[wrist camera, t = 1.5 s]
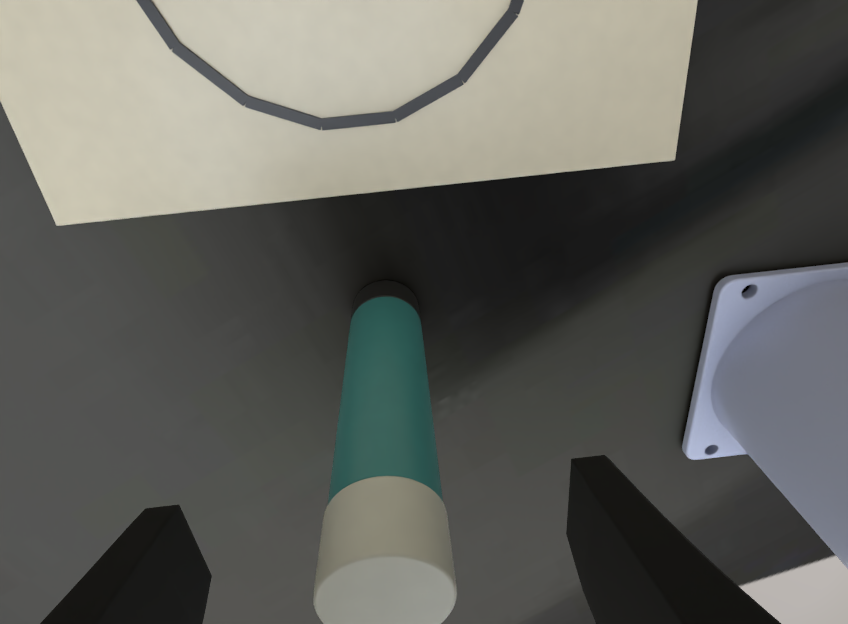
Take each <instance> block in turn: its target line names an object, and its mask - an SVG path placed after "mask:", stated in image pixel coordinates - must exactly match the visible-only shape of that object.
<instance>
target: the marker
mask: <svg viewBox="0 0 848 624" xmlns="http://www.w3.org/2000/svg"><path fill="white" fill-rule="evenodd" d="M456 597H457V588H456V580H455V573H454V565H453V557H452V549H451V541H450V533H449V526H448V518H447V512H446V508H445V505H444V503H443V499H442V491H441V483H440V475H439V467H438V458H437V450H436V442H435V434H434V426H433V417H432V409H431V401H430V393H429V385H428V377H427V368H426V360H425V352H424V344H423V336H422V328H421V319H420V311H419V304H418V301H417V299H416V297H415V295H414V294H413V292H412V291H411V290H410V289H409V288H407V287H406V286H404V285H403V284H400V283H398V282H395V281H388V280H383V281H377V282H373V283H371V284H369V285H367V286H365V287H364V288H363V289H362V290H361V291H360V292H359V293H358V294H357V296H356V298H355V300H354V302H353V307H352V315H351V324H350V331H349V339H348V347H347V355H346V363H345V371H344V379H343V387H342V395H341V403H340V411H339V419H338V427H337V435H336V443H335V451H334V460H333V468H332V476H331V484H330V492H329V500H328V506H327V508H326V510H325V513H324V518H323V525H322V533H321V540H320V548H319V556H318V563H317V571H316V579H315V586H314V594H313V603H314V607H315V610H316V613H317V615H318V616H319V618H320V619H321V621H322V622H323V623H324V624H440V623H442V622H443V621H444V620H445V619H446V618H447V617H448V615H449V614H450V613H451V611H452V609H453V607H454V605H455V602H456Z"/></svg>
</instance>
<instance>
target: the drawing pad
mask: <svg viewBox="0 0 848 624" xmlns="http://www.w3.org/2000/svg"><path fill="white" fill-rule="evenodd" d="M697 2H698V0H0V101H1V103H2V106H3V108H4V110H5V112H6V115H7V117H8V119H9V121H10V123H11V126H12V128H13V130H14V132H15V134H16V137H17V139H18V141H19V143H20V146H21V148H22V150H23V152H24V154H25V157H26V159H27V161H28V163H29V165H30V168H31V170H32V172H33V174H34V176H35V179H36V181H37V183H38V185H39V188H40V190H41V192H42V194H43V196H44V199H45V201H46V203H47V205H48V207H49V210H50V212H51V214H52V216H53V219H54V221H55V223H56V225H57V226H61V225H70V224H80V223H89V222H98V221H108V220H117V219H127V218H136V217H146V216H155V215H164V214H174V213H183V212H193V211H202V210H212V209H221V208H230V207H240V206H249V205H259V204H268V203H278V202H287V201H296V200H306V199H315V198H325V197H334V196H344V195H353V194H362V193H372V192H381V191H391V190H400V189H410V188H419V187H428V186H438V185H447V184H457V183H466V182H476V181H485V180H495V179H504V178H513V177H523V176H532V175H542V174H551V173H561V172H570V171H579V170H589V169H598V168H608V167H617V166H627V165H636V164H645V163H655V162H664V161H674V160H675V156H676V149H677V142H678V135H679V128H680V121H681V114H682V107H683V100H684V93H685V86H686V79H687V72H688V65H689V58H690V51H691V44H692V37H693V30H694V23H695V16H696V9H697Z"/></svg>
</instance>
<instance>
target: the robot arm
mask: <svg viewBox="0 0 848 624" xmlns="http://www.w3.org/2000/svg"><path fill="white" fill-rule="evenodd" d="M748 285H750V287H749V289H748V290H747V291H746V292H744V293H742V291H743V289H744V288H745V287H746V286H748ZM708 446H709V447H708ZM682 450H683V452H684V453H685V454H686V456H687V457H688V458H689V459H692V460H699V459H707V458H716V457H725V456H733V455H742V454H748V455H749V456H750V457H751V458H752V459H753V460H754V462H755V463H756V464H757V465H758V466H759V467H760V468H761V470H762V471H763V472H764V473H765V474H766V475H767V476H768V478H769V479H770V480H771V481H772V482H773V483H774V485H775V486H776V487H777V488H778V489H779V490H780V491H781V493H782V494H783V495H784V496H785V497H786V498H787V499H788V501H789V502H790V503H791V504H792V505H793V506H794V507H795V509H796V510H797V511H798V512H799V513H800V514H801V516H802V517H803V518H804V519H805V520H806V521H807V522H808V524H809V525H810V526H811V527H812V528H813V529H814V530H815V532H816V533H817V534H818V535H819V536H820V537H821V539H822V540H823V541H824V542H825V543H826V544H827V545H828V547H829V548H830V549H831V550H832V551H833V552H834V553H835V555H836V556H837V557H838V558H839V559H840V560H841V561H842V563H843V564H844V565H845V566H846V567H847V568H848V262H847V263H838V264H829V265H819V266H810V267H801V268H792V269H783V270H774V271H765V272H756V273H747V274H737V275H730V276H727V277H724V278H723V279H721V280H720V281H719V282H718V283H717V284H716V286H715V289H714V292H713V297H712V302H711V306H710V311H709V316H708V321H707V326H706V331H705V336H704V341H703V346H702V351H701V356H700V361H699V365H698V370H697V375H696V380H695V385H694V390H693V395H692V400H691V405H690V410H689V415H688V419H687V424H686V429H685V434H684V439H683V444H682ZM566 534H567V537H568V541H569V544H570V548H571V551H572V555H573V558H574V562H575V565H576V569H577V572H578V575H579V579H580V582H581V585H582V589H583V592H584V594H585V597H586V599H587V602H588V604H589V607H590V609H591V612H592V614H593V617H594V619H595V622H596V624H781V623H779V621H778V620H776V619H775V618H774V617H773V616H772V615H771V614H769V613H768V612H767V611H766V610H765V609H764V608H762V607H761V606H760V605H759V604H758V603H757V602H756V601H754V600H753V599H752V598H751V597H750V596H749V595H748V594H746V593H745V592H744V591H743V590H742V589H741V588H740V587H739V586H737V585H736V584H735V583H734V582H733V581H732V580H731V579H730V578H729V577H727V576H726V575H725V574H724V573H723V572H722V571H721V570H720V569H719V568H718V567H716V566H715V565H714V564H713V563H712V562H711V561H710V560H709V559H708V558H707V557H706V556H705V555H704V554H703V553H702V552H701V551H700V550H699V549H697V548H696V547H695V546H694V545H693V544H692V543H691V542H690V541H689V540H688V539H687V538H686V537H685V536H684V535H683V534H682V533H681V532H680V531H679V530H678V529H677V528H676V527H675V526H674V525H673V524H672V523H671V522H669V521H668V520H667V519H666V518H665V517H664V516H663V515H662V513H661V512H660V511H659V510H658V509H657V508H656V507H655V506H654V505H653V504H652V503H651V502H650V501H649V500H648V499H647V498H646V497H645V496H644V495H643V494H642V493H641V492H640V491H639V490H638V489H637V488H636V487H635V486H634V485H633V484H632V483H631V482H630V480H629V479H628V478H627V477H626V476H625V475H624V474H623V473H622V472H621V471H620V470H619V469H618V468H617V467H616V466H615V465H614V463H613V462H612V461H611V460H610V459H609V458H607V457H606V456H605V455H601V456H592V457H583V458H575V459H571V473H570V488H569V503H568V518H567V533H566ZM211 577H212V576H211V573H210V571H209V569H208V567H207V565H206V562H205V560H204V558H203V556H202V554H201V552H200V549H199V547H198V545H197V543H196V541H195V538H194V536H193V534H192V532H191V530H190V528H189V525H188V523H187V521H186V519H185V517H184V514H183V512H182V510H181V508H180V506H179V505H172V506H164V507H155V508H147V509H145V510H144V511H143V512H142V513H141V514H140V515H139V516H138V517H137V518H136V519H135V520H134V521H133V522H132V524H131V525H130V526H129V527H128V528H127V529H126V530H125V531H124V532H123V533H122V535H121V536H120V537H119V538H118V539H117V540H116V541H115V542H114V543H113V544H112V546H111V547H110V548H109V549H108V550H107V551H106V552H105V553H104V554H103V556H102V557H101V558H100V559H99V560H98V561H97V562H96V563H95V564H94V566H93V567H92V568H91V569H90V570H89V571H88V572H87V573H86V574H85V576H84V577H83V578H82V579H81V580H80V581H79V582H78V583H77V584H76V585H75V586H74V588H73V589H72V590H71V591H70V592H69V593H68V594H67V595H66V596H65V597H64V598H63V600H62V601H61V602H60V603H59V604H58V605H57V606H56V607H55V608H54V609H53V610H52V611H51V613H50V614H49V615H48V616H47V617H46V618H45V619H44V620H43V621H42V622H41V623H40V624H202V622H203V618H204V613H205V609H206V603H207V598H208V593H209V587H210V582H211Z"/></svg>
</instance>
